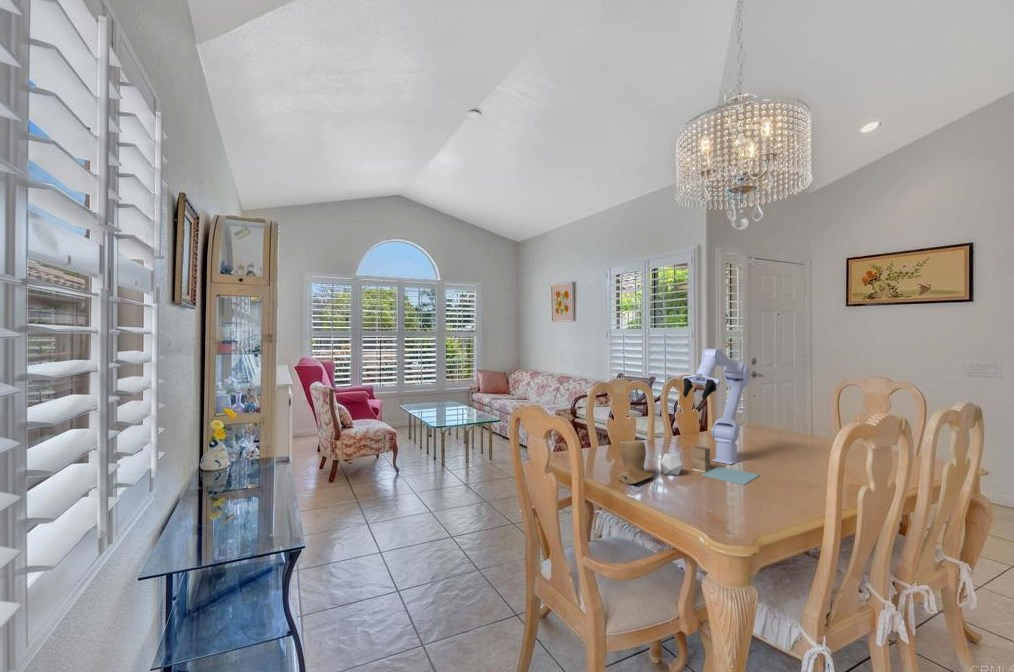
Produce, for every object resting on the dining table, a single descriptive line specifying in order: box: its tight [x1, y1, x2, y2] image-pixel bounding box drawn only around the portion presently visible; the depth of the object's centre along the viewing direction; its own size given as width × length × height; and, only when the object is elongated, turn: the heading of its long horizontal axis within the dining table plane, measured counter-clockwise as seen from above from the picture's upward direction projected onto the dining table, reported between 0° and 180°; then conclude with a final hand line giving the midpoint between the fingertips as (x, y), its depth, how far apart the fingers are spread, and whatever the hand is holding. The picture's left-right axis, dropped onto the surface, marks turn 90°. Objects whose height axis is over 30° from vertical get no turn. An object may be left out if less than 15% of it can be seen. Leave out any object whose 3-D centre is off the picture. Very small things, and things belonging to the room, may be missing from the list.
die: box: [659, 452, 683, 476], centre depth 187 cm, size 8×9×10 cm
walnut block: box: [692, 445, 711, 473], centre depth 192 cm, size 5×5×9 cm
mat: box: [701, 466, 760, 486], centre depth 184 cm, size 16×16×1 cm
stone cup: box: [616, 440, 654, 485], centre depth 180 cm, size 15×12×15 cm
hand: (693, 396), depth 185 cm, fingers open, 7 cm apart
